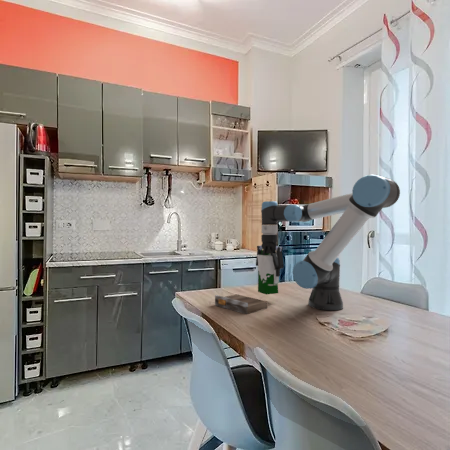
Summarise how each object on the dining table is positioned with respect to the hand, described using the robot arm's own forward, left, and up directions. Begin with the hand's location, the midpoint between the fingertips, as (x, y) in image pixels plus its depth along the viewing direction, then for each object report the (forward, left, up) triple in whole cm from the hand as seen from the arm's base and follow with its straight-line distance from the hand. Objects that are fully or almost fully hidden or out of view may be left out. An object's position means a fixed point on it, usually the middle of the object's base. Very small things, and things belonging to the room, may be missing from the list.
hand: (269, 282), depth 156 cm
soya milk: (+1, 0, -5) cm, 5 cm away
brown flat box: (+3, +16, -10) cm, 19 cm away
